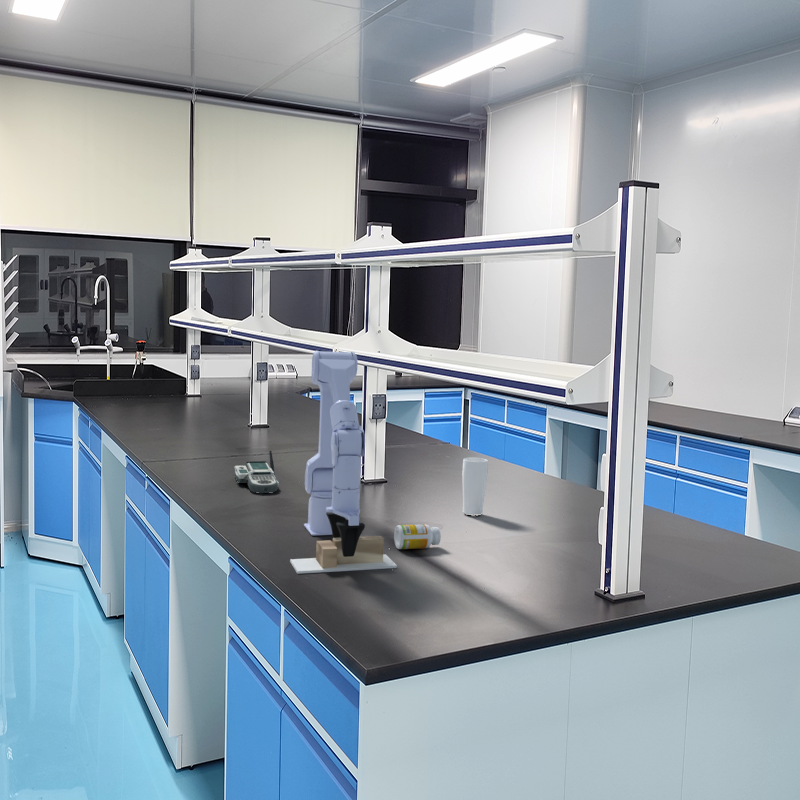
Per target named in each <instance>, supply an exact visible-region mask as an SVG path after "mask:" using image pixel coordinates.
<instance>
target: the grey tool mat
mask: <svg viewBox="0 0 800 800" xmlns="http://www.w3.org/2000/svg"><path fill="white" fill-rule="evenodd" d="M289 562H290V564H291V565H292V567H293V569H294V571H295V572H296V574H298V575H299V574H314V573H315V574H317V573H330V572H332V573H333V572H349V571H351V572H352V571H365V570H366V571H367V570H368V571H369V570H383V569H397V568H398V565H397V564H396V563H395V562H394V561H393V560H392V559H391V558H390V557H389V556H388V555H387V554H384V553H383V562H374V563H357V564H339V565H337V567H336V568H322V567H321V566H320V564H319V563H318V562H317V560H316V557H310V558H293V559H292V558H290V560H289Z"/></svg>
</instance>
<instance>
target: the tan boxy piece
mask: <svg viewBox="0 0 800 800" xmlns="http://www.w3.org/2000/svg"><path fill="white" fill-rule="evenodd" d="M384 544H385V538H384V537H382V536H381V535H371V536H370V535H369V536H360V537H359V540H358V543H357V546H356V550H355V554H354V556H351V557H344V556H343V552H342V544H341V538H333V537H332V540H330V539H329V540H327V539H326V540H316V545H315V546H316V547H315V549H316V550H315V551H316V552H315V558H316V560H317V562H318V563H319V564H320V566H321V567H322V568H336V567H337V565H339V564H357V563H374V562H383V554H384V550H385V549H384V546H385V545H384Z"/></svg>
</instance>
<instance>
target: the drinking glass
mask: <svg viewBox="0 0 800 800" xmlns="http://www.w3.org/2000/svg"><path fill="white" fill-rule="evenodd" d="M488 471H489V460H488V459H486V458H482V457H472V456H471V457H464V458H463V460H462V470H461V472H462V473H461V475H462V476H461V479H462V480H461V482H462V484H461V485H462V513H463V512H464V513H466V514H473V515H474V514H481V513H482V514H483V512H484V503H485V496H486V488H487V482H488ZM464 513H463V514H464Z"/></svg>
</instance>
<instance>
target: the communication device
mask: <svg viewBox="0 0 800 800" xmlns="http://www.w3.org/2000/svg"><path fill="white" fill-rule="evenodd" d="M272 452H273V451H272V450H269V464H270V466H269V464H268V461H266V460H262V461H261V460H254V461H253V460H252V461H247V460H246V461H245V462H244V465H235V466H233V469H234V470H233V472H234V476H235V477H234V479H235V478H236V479H237V481H238V482H239V483H247V484H246V485H247V486H248V488H249V490H250V491H251V492H252V491H253V492H259V493H269V492H275V491H276V492H277V491H278V487H279V486H280V482H279V480H278V479H277V477H276V476H275V473H276V472H275V466H274V458H273V453H272ZM236 479H235V480H236ZM253 492H252V493H253ZM276 492H275V493H276Z"/></svg>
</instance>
